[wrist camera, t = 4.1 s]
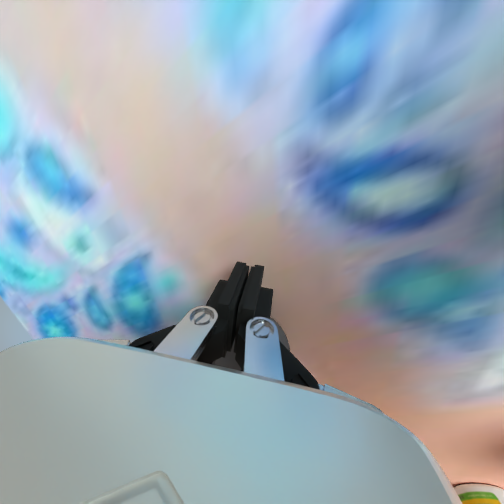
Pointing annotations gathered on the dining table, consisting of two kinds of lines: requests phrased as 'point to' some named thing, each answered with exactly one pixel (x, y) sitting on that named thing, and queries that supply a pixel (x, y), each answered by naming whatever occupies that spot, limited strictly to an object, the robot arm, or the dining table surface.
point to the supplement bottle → (480, 494)
